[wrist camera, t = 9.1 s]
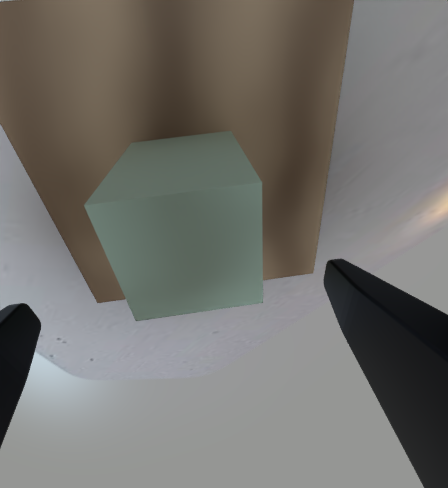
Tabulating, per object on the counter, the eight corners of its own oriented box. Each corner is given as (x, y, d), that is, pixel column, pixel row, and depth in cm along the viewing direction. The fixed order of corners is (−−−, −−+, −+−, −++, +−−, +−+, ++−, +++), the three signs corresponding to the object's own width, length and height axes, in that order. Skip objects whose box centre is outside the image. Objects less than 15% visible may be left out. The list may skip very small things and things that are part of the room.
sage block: (230, 130, 13) (261, 182, 7) (236, 217, 16) (263, 302, 10) (131, 142, 13) (83, 205, 7) (155, 227, 16) (136, 321, 10)
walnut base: (335, -20, 12) (358, -33, 10) (303, 256, 21) (313, 273, 19) (-26, 16, 11) (-63, 7, 10) (105, 283, 20) (97, 303, 19)
